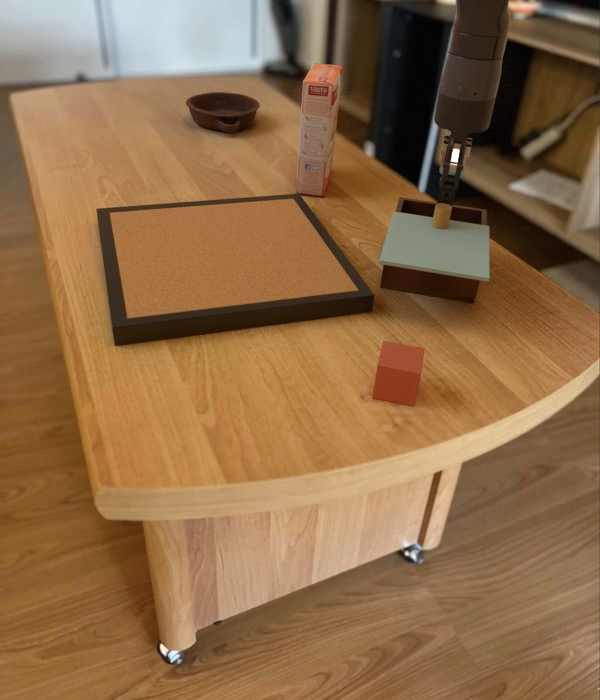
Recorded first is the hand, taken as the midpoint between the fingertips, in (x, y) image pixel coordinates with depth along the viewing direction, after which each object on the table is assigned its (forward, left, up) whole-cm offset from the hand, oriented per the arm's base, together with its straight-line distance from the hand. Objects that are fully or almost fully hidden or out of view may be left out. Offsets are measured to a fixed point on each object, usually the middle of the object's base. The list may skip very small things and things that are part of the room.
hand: (443, 210), depth 95 cm
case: (0, +1, -10) cm, 10 cm away
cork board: (+32, +10, -10) cm, 35 cm away
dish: (+54, -55, -10) cm, 78 cm away
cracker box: (+25, -27, -10) cm, 39 cm away
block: (+2, +32, -10) cm, 33 cm away
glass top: (0, +9, -2) cm, 9 cm away
